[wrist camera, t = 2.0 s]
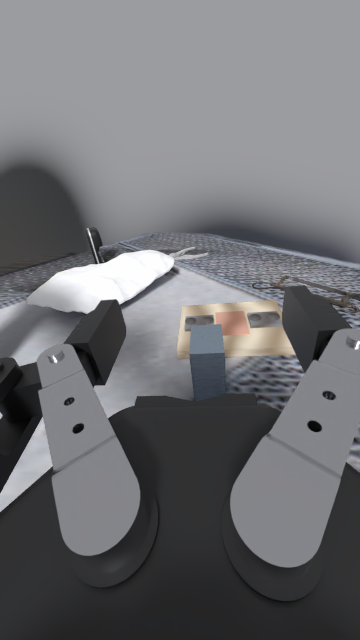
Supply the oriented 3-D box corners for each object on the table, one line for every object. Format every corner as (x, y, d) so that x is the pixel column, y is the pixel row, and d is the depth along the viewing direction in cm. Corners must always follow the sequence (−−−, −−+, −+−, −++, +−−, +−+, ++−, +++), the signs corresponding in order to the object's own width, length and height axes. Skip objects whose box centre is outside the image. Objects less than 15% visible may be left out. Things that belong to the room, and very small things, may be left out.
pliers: (208, 250, 78) (164, 262, 74) (208, 255, 79) (165, 267, 75) (193, 244, 86) (153, 254, 82) (194, 248, 87) (154, 259, 82)
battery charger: (108, 265, 82) (98, 229, 76) (97, 267, 81) (85, 231, 75) (106, 259, 87) (96, 225, 81) (95, 261, 86) (84, 227, 80)
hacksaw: (390, 307, 45) (393, 300, 44) (361, 331, 40) (364, 323, 40) (277, 273, 62) (277, 268, 61) (248, 287, 58) (248, 281, 57)
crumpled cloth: (29, 296, 64) (12, 264, 58) (149, 257, 78) (146, 228, 72) (48, 352, 49) (28, 316, 43) (194, 291, 63) (194, 258, 57)
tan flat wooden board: (177, 358, 39) (175, 346, 38) (183, 312, 51) (182, 301, 50) (297, 354, 37) (299, 341, 36) (274, 306, 49) (275, 295, 47)
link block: (196, 416, 30) (189, 354, 25) (197, 385, 34) (191, 325, 29) (226, 416, 30) (224, 352, 24) (223, 384, 34) (221, 324, 29)
